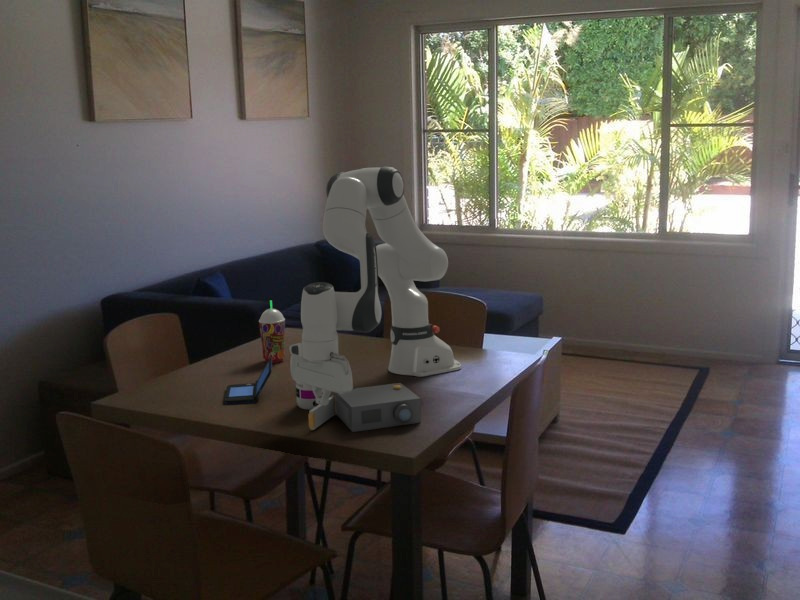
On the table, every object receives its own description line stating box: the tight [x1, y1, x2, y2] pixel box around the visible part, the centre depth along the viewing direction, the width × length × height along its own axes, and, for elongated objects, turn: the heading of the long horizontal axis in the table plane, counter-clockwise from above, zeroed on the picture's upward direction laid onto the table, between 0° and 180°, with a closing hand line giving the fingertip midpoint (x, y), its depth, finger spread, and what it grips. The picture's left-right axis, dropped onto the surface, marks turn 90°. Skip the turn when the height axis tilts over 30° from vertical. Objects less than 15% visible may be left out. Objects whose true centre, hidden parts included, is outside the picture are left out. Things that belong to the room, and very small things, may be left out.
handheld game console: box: [223, 358, 273, 405], centre depth 253 cm, size 16×13×9 cm
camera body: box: [334, 382, 422, 433], centre depth 229 cm, size 18×17×7 cm
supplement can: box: [295, 381, 323, 411], centre depth 241 cm, size 8×8×15 cm
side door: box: [307, 395, 336, 431], centre depth 228 cm, size 1×14×5 cm, turn 159°
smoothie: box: [258, 300, 286, 364], centre depth 288 cm, size 8×8×20 cm
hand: (322, 404), depth 222 cm, fingers closed
